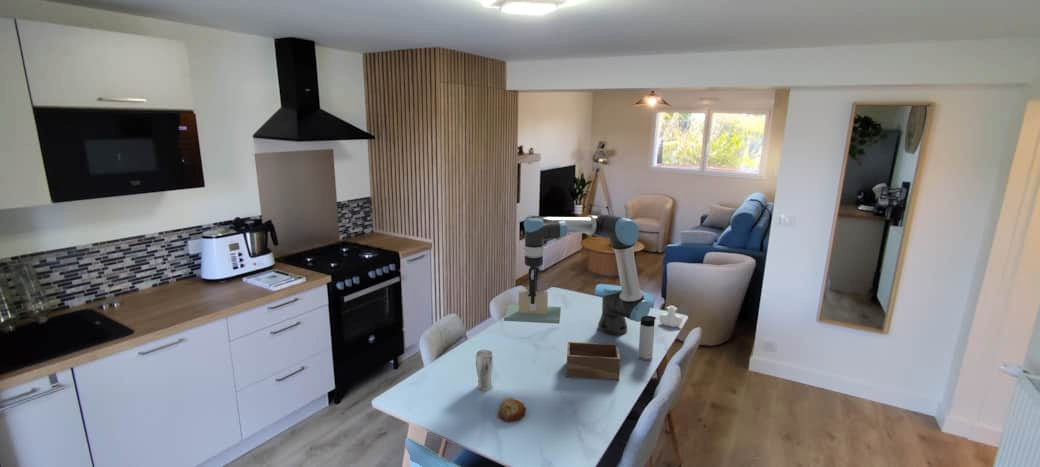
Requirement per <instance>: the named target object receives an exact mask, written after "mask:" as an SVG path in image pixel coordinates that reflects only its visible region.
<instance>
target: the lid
mask: <svg viewBox="0 0 1040 467" xmlns="http://www.w3.org/2000/svg"><path fill="white" fill-rule="evenodd" d="M548 293H549V291H548V290H547V291H543V290H539V291H536V311H530V296H528V295H529V290H524V289H523V290H522V289H521V290H519V291H518V304H508V305H507V308H506V311H505V313H504V316H503V322H518V323H521V322H522V323H539V324H557V325H558V324H559V325H560V321H561V311H562V309H561V308H562V307H561V306H548V304H549V303H548V302H549V301H548V300H549V299H548V298H549V296H548Z"/></svg>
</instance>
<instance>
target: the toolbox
mask: <svg viewBox="0 0 1040 467" xmlns="http://www.w3.org/2000/svg"><path fill="white" fill-rule="evenodd" d="M566 350H567V351H566V353H567V354H566V378H568V379H581V380H585V379H586V380H595V381H596V380H600V381H612V382H613V381H616V382H619V381H620V371H621V370H620V369H621V356H620V351H619V344H617V343H616V344H615V343H602V342H601V343H597V342H583V341H581V342H579V341H567V349H566Z"/></svg>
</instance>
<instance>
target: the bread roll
mask: <svg viewBox="0 0 1040 467" xmlns="http://www.w3.org/2000/svg"><path fill="white" fill-rule="evenodd" d="M526 410H527V408H526V405H525V403H524V402H522V401H519V399H515V398H511V397H507V398H505V399H503V400H502V401H501V403H500V404H499V408H498V412H497V414H498V417H499V419H500V420H501V421H502V420H503V421H502V422H506V423H514V422H519V421H521V420H522V419H523V418H524V417H525V416H526Z"/></svg>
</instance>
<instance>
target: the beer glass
mask: <svg viewBox="0 0 1040 467" xmlns="http://www.w3.org/2000/svg"><path fill="white" fill-rule="evenodd" d="M493 355H494V353H493V351H491V350H489V349H480V350H478V351H477V352H475V370H476V373H477V381H478V382H477V390H479V391H481V392H488V391H490V390H492V388H493V382H492V376H493V375H492V374H493V369H494V368H493V367H494V356H493Z"/></svg>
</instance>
